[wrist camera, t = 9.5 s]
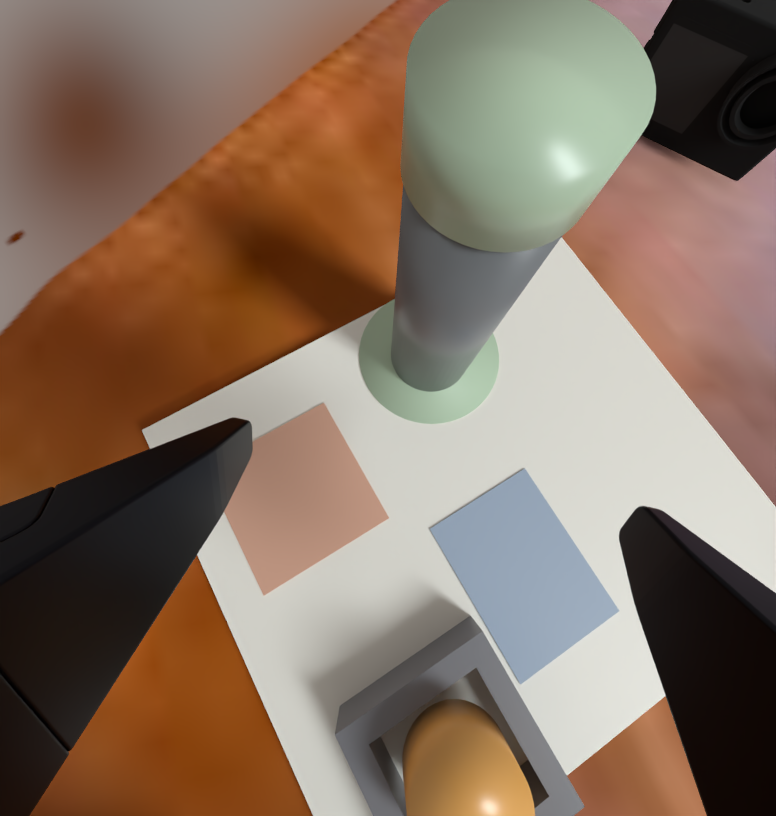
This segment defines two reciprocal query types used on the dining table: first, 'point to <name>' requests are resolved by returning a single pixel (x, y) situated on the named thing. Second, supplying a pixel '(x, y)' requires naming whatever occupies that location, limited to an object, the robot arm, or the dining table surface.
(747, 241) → the dining table surface
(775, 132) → the digital camera
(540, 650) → the colouring board
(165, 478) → the robot arm
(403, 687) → the button housing
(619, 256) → the dining table surface
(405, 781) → the button
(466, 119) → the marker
